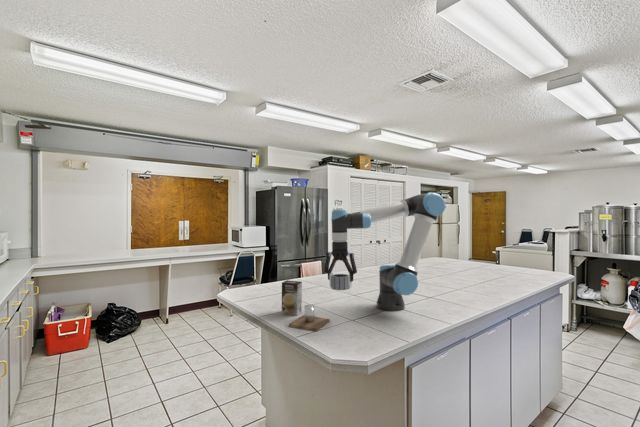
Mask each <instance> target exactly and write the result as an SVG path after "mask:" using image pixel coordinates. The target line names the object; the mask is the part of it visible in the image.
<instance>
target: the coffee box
mask: <svg viewBox="0 0 640 427" xmlns="http://www.w3.org/2000/svg"><path fill="white" fill-rule="evenodd" d="M302 287H303V281H298V280H288V279H287V280H284V281H283V282H281V314H283V315H290V316H298V315H300V314H302V306H303V305H302V304H303V303H302V301H303V300H302V298H303V292H302V291H303V288H302Z"/></svg>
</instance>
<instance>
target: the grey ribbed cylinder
mask: <svg viewBox="0 0 640 427" xmlns="http://www.w3.org/2000/svg"><path fill="white" fill-rule="evenodd" d="M348 275H349V274H346V273H336V274H335V273H333V275H331V287H330V288H331V290H335V291H347V290H349V289H348Z"/></svg>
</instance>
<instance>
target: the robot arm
mask: <svg viewBox="0 0 640 427" xmlns="http://www.w3.org/2000/svg"><path fill="white" fill-rule="evenodd" d="M445 210H446V201H445V200H444V198H443V196H442V195H440V194H439V193H436V192H428V193H427V192H426V193H423V194H422V193H421V194H416V195H413V196H411V197H407V198H405V199H401V200H400V201H399V202H396V203H391V204H387V205H383V206H377V207H374V208H370V209H365V210H362V211H357V212H352V213H348V212H347V209H333V210H332V211H331V219H330V220H331V241H332V242H331V249H332V250H331V251H328V252H326V258H325V264H324V269H323V272H324V273H327V280H328V281H329V288H331V275H334V273H333V269H334V268H335V266H336V263H337V262H338V261H342V262H343V263H344V266H345V268H346V269H347V272H348V274H347V275H348V289H347V290H350V289H352V287H353V285H352V284H353V282H354V275H355V274H357V273H358V269H357V265H356V262H355V253H354V252H349V250H348V245H349V244H348V230H351V229H355V230H356V229H359V230H361V229H364V230H365V229H368V228H371V226H372V224H373V223H377V222H382V221H385V220H390V219H395V218H399V217H405V218H407V217H410V216H411V217H414V221H413V224H412V227H411V230H410V232H409V235H408V236H407V237H408V238H407V240H406V243H405V246H404V249H403V252H402V254H401V257H400V260H399V261H398V262H396V263H395V264H382V265H380V266H379V271H378V273H379V294H378V296H377V299H376V308H378V309H380V310H382V311H383V310H385V311H391V312H393V311H394V312H395V311H402V310H404V309H405V307H406V306H405V300H404V297H403V296H411V295H412V294H414V293H415V292H416V291H417V289H418V287H419V280H418V277H417V276H418V274H419V271H418V269H417V268H418V265H419V261H420V258H421V255H422V252H423V250H424V247H425V244H426V241H427V238H428V236H429V232H430V230H431V227H432V224H435V223H436V222H437V220H438V217H439V216H441V215H442V214H443V213H444V212H445ZM332 257H333V258H332ZM347 257H349V259H348V258H347ZM331 258H332V261H331ZM349 261H350V263H349ZM330 263H331V264H330Z"/></svg>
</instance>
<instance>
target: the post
mask: <svg viewBox="0 0 640 427" xmlns="http://www.w3.org/2000/svg"><path fill="white" fill-rule="evenodd" d="M304 315H305V322H306V323H313V322H314V321H315V318H314V317H315V305H313V304H306V305H304Z"/></svg>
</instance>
